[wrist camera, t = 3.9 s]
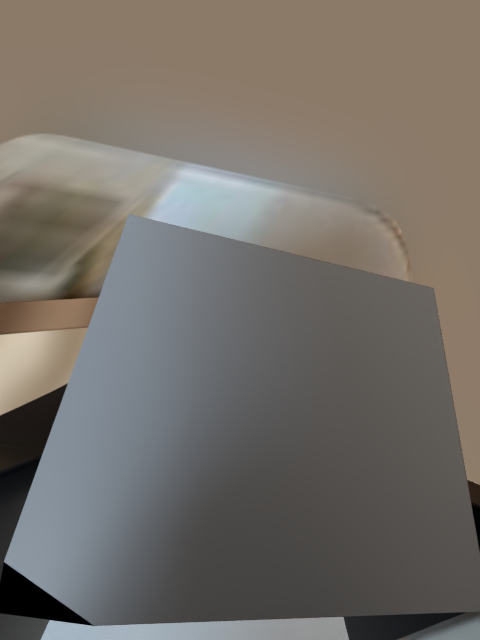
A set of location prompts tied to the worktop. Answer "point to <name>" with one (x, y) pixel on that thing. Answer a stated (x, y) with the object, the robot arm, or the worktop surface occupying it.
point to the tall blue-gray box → (248, 447)
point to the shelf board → (39, 346)
